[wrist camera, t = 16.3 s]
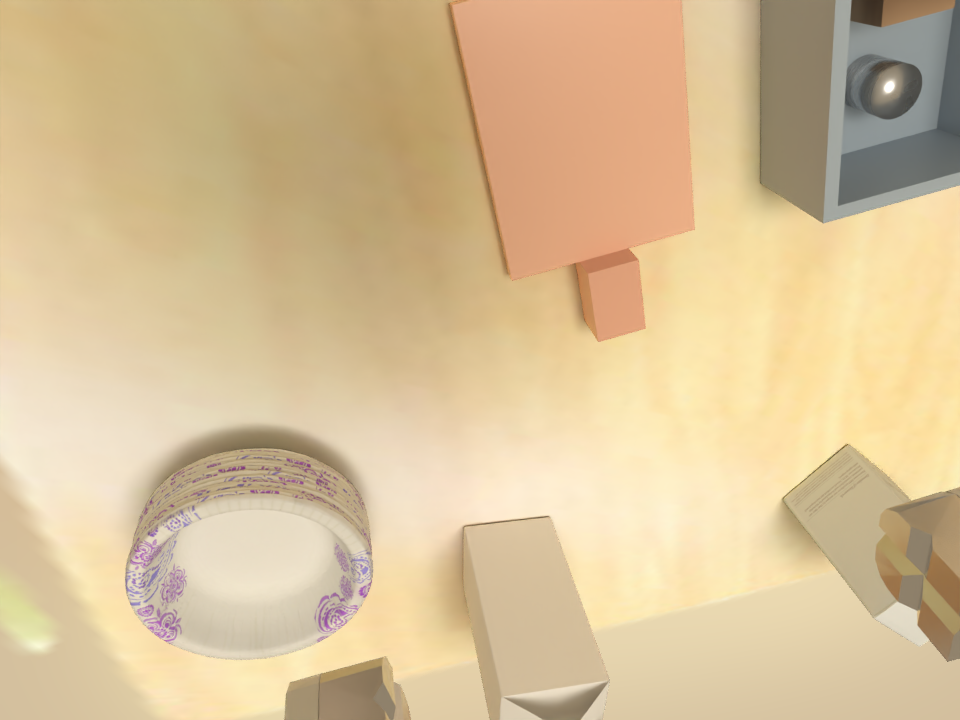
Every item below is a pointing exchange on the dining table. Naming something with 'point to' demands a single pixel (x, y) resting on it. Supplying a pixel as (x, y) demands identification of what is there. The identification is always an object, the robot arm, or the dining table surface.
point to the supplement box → (854, 530)
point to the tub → (848, 131)
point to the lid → (581, 138)
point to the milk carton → (530, 625)
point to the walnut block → (894, 10)
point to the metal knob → (882, 86)
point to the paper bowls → (250, 555)
